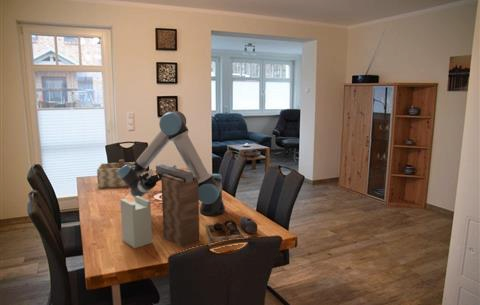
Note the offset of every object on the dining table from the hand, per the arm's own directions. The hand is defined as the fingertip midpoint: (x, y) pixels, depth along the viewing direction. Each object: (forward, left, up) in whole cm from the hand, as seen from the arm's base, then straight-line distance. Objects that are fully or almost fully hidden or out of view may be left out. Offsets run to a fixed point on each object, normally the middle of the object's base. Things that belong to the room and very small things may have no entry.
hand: (164, 169), depth 174 cm
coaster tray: (-28, +12, -33) cm, 44 cm away
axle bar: (-4, +6, -3) cm, 8 cm away
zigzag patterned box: (+34, -110, -33) cm, 120 cm away
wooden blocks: (+33, -109, -33) cm, 118 cm away
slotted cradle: (+14, +9, -33) cm, 37 cm away
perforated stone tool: (-41, +8, -33) cm, 53 cm away
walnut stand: (-7, +11, -33) cm, 35 cm away
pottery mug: (-29, +10, -33) cm, 45 cm away
